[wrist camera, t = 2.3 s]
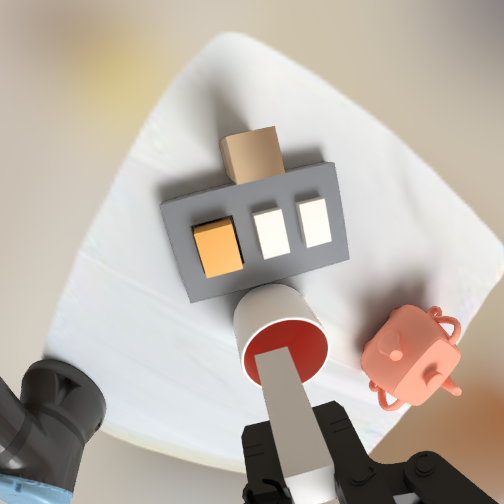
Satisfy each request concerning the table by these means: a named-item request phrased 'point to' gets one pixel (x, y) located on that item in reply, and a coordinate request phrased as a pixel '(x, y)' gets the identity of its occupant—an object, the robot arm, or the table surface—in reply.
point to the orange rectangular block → (218, 248)
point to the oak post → (252, 155)
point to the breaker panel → (246, 232)
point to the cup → (279, 330)
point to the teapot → (412, 356)
